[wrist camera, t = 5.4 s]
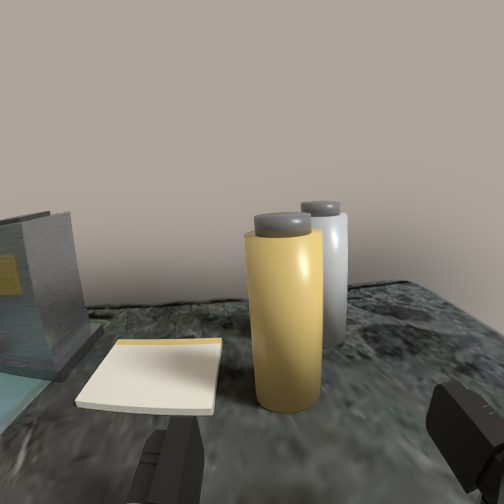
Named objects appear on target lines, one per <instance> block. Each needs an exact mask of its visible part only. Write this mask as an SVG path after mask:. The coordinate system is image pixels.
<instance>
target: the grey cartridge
mask: <svg viewBox="0 0 504 504" xmlns="http://www.w3.org/2000/svg"><path fill="white" fill-rule="evenodd" d="M301 212H303V213H310V214H311V226H312V228H315V229H319V230H321V231H322V237H323V336H322V348H329V347H334V346H337V345H339V344H341V343H342V342H343V341H344V340H345V333H346V311H347V274H348V272H347V271H348V270H347V269H348V235H347V234H348V233H347V231H348V229H347V214H346V213H340V202H336V201H313V202H303V203H301Z"/></svg>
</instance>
